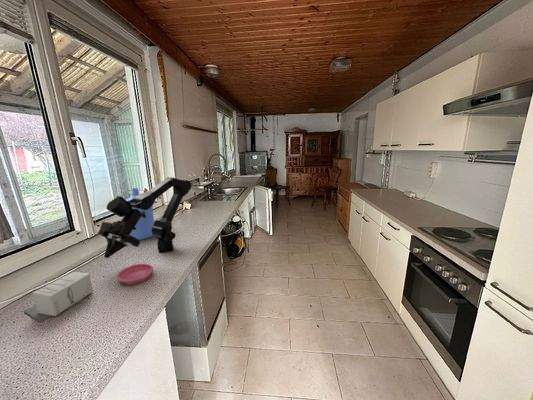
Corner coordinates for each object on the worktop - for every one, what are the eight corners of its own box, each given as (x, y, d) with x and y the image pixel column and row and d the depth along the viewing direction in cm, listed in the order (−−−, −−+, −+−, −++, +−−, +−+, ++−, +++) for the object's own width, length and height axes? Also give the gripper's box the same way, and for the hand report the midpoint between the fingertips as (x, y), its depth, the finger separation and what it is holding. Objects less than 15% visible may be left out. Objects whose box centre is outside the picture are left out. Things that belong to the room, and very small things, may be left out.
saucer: (160, 275, 91) (159, 268, 91) (129, 291, 81) (128, 284, 80) (142, 266, 97) (141, 260, 97) (111, 281, 87) (110, 274, 86)
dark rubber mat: (69, 290, 81) (69, 289, 81) (85, 298, 77) (85, 297, 77) (24, 311, 70) (23, 310, 70) (40, 322, 66) (39, 321, 66)
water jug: (147, 241, 123) (141, 191, 117) (119, 240, 124) (111, 191, 117) (160, 230, 138) (156, 186, 132) (136, 230, 139) (130, 186, 132)
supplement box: (94, 291, 80) (55, 317, 68) (77, 288, 81) (36, 313, 69) (90, 273, 78) (49, 296, 66) (73, 270, 79) (30, 293, 67)
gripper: (98, 210, 91) (72, 245, 84) (128, 216, 83) (102, 255, 76) (120, 222, 100) (98, 255, 93) (149, 228, 92) (127, 265, 85)
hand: (105, 257), depth 86 cm, fingers closed
